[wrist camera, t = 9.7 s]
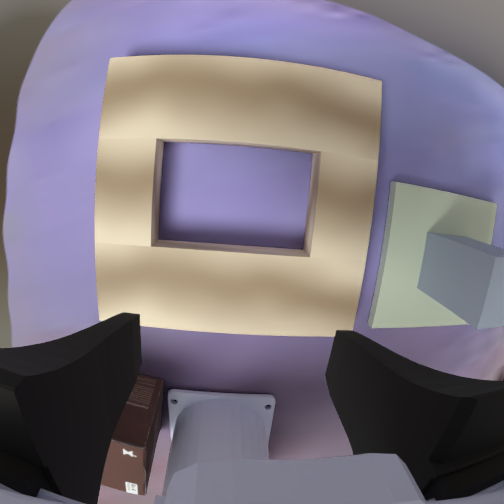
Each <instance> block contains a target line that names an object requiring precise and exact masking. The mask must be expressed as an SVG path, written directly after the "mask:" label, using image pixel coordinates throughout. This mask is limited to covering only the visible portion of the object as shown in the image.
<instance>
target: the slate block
mask: <svg viewBox="0 0 504 504" xmlns="http://www.w3.org/2000/svg"><path fill="white" fill-rule="evenodd" d="M417 288H418V289H419V290H421V291H422V292H424V293H425V294H427V295H428V296H430V297H431V298H432V299H434V300H435V301H437V302H438V303H440V304H441V305H443V306H444V307H446V308H447V309H448V310H450V311H451V312H453V313H454V314H456V315H457V316H458V317H460V318H461V319H463V320H464V321H465V322H467V323H468V324H470V325H471V326H472V327H474V328H475V329H487V328H496V327H504V249H501V248H498V247H495V246H493V245H490V244H487V243H484V242H481V241H478V240H475V239H472V238H469V237H464V236H456V235H449V234H441V233H433V232H427V237H426V243H425V249H424V255H423V260H422V266H421V271H420V276H419V281H418V285H417Z"/></svg>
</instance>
